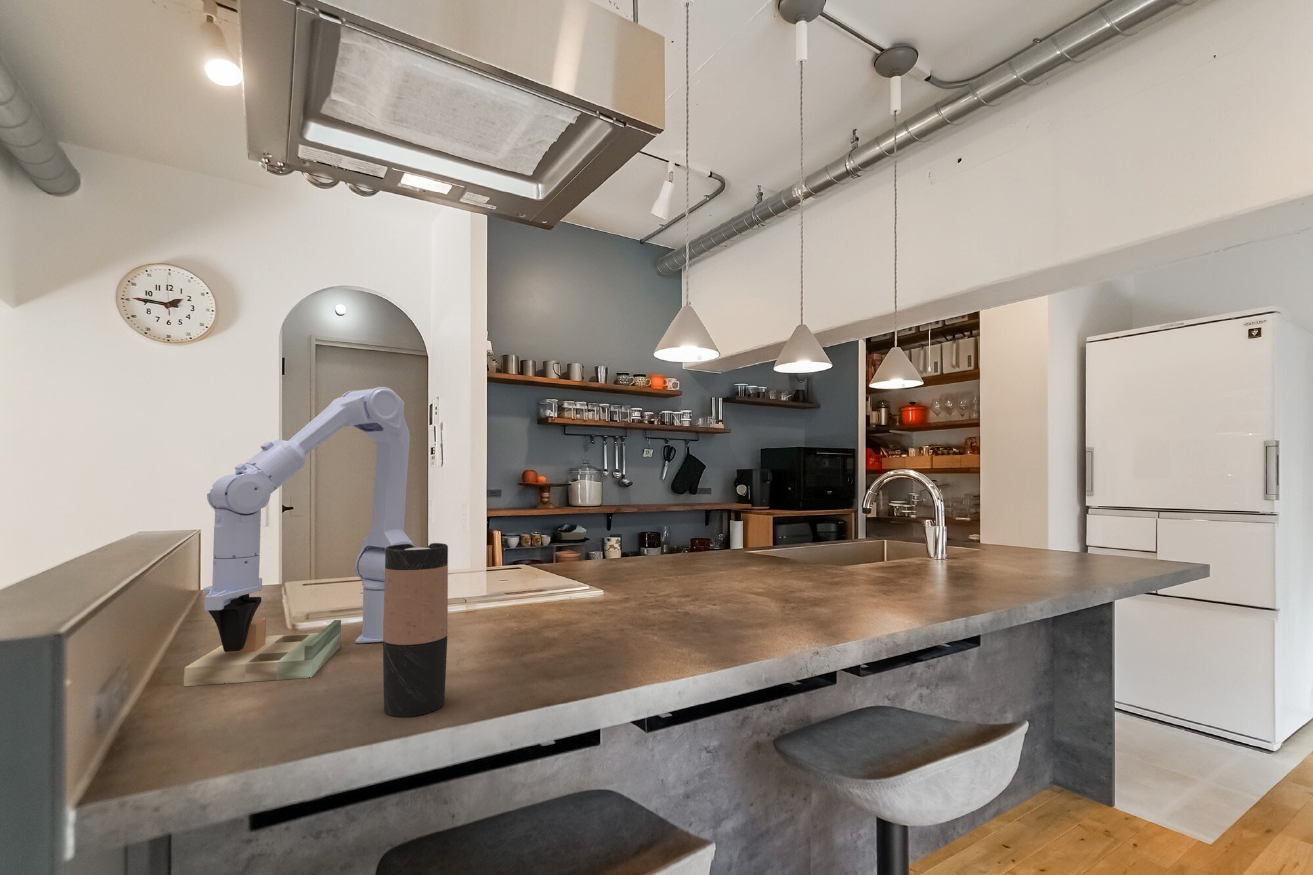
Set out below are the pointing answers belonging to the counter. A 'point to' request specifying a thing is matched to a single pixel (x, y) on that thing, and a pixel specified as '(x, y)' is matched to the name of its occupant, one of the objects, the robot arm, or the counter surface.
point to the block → (255, 636)
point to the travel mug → (415, 628)
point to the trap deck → (268, 659)
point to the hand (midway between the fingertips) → (233, 650)
